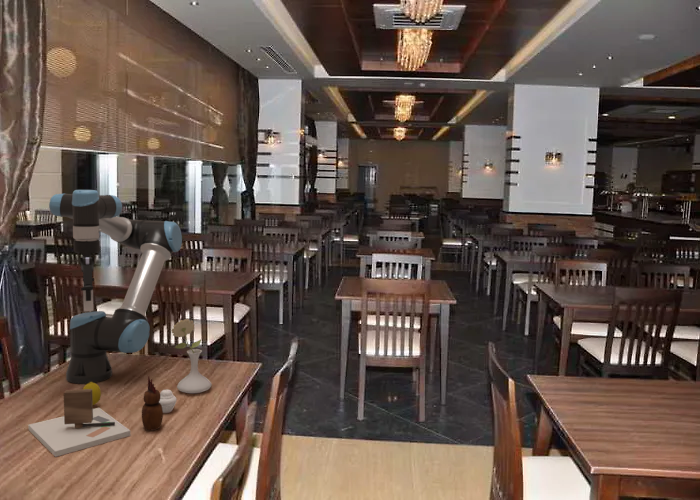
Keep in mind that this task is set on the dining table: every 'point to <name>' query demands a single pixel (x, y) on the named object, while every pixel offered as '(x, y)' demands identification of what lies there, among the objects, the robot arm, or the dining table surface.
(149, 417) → the wooden figurine
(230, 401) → the dining table surface
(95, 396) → the lemon
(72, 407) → the dark wooden block
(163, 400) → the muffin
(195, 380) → the flower in vase
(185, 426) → the dining table surface
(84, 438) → the dial board
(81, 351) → the robot arm
